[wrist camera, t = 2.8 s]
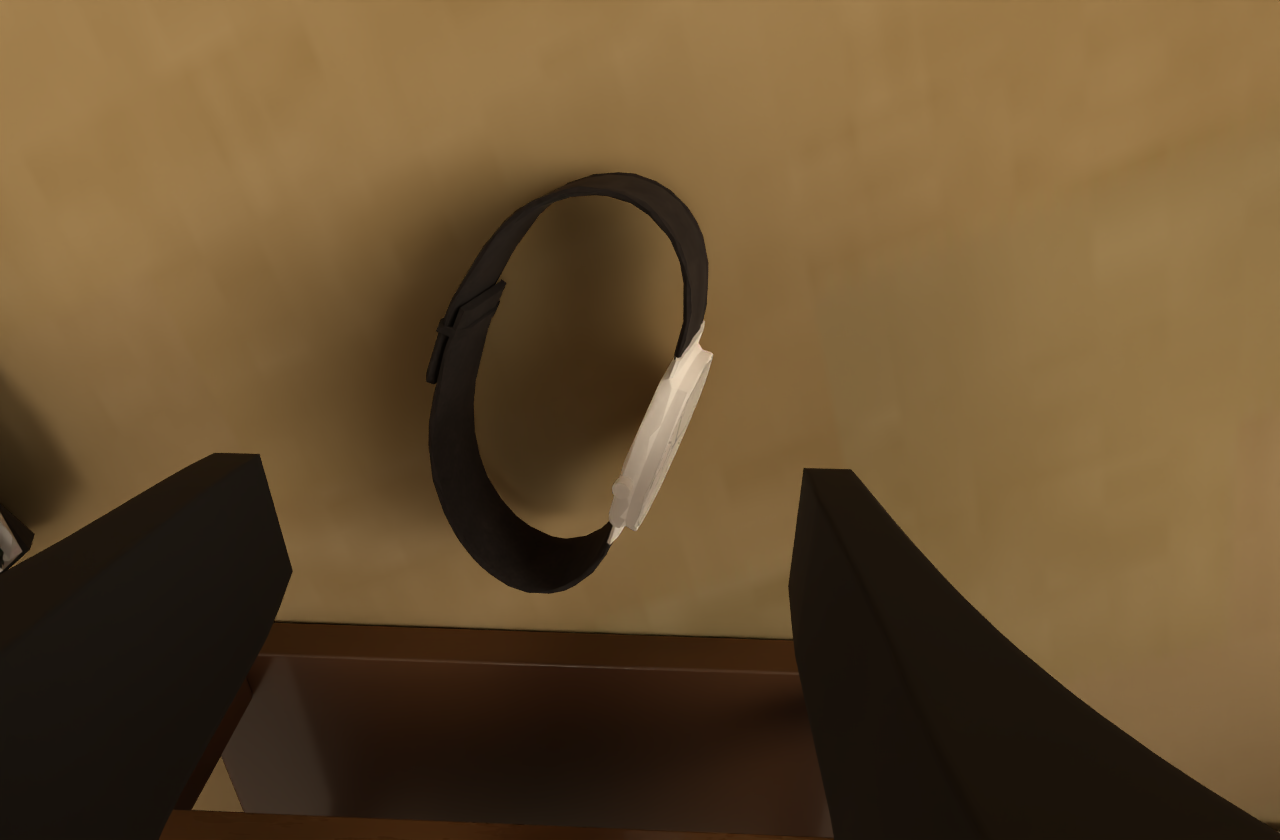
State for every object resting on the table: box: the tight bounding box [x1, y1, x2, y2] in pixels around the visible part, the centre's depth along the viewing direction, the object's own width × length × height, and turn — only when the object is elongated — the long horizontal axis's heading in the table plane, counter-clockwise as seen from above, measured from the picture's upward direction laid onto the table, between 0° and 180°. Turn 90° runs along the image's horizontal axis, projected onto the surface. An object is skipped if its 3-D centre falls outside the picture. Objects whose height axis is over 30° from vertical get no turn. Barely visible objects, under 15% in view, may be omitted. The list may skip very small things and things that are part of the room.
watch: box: [426, 172, 713, 594], centre depth 14 cm, size 8×5×4 cm, turn 163°
